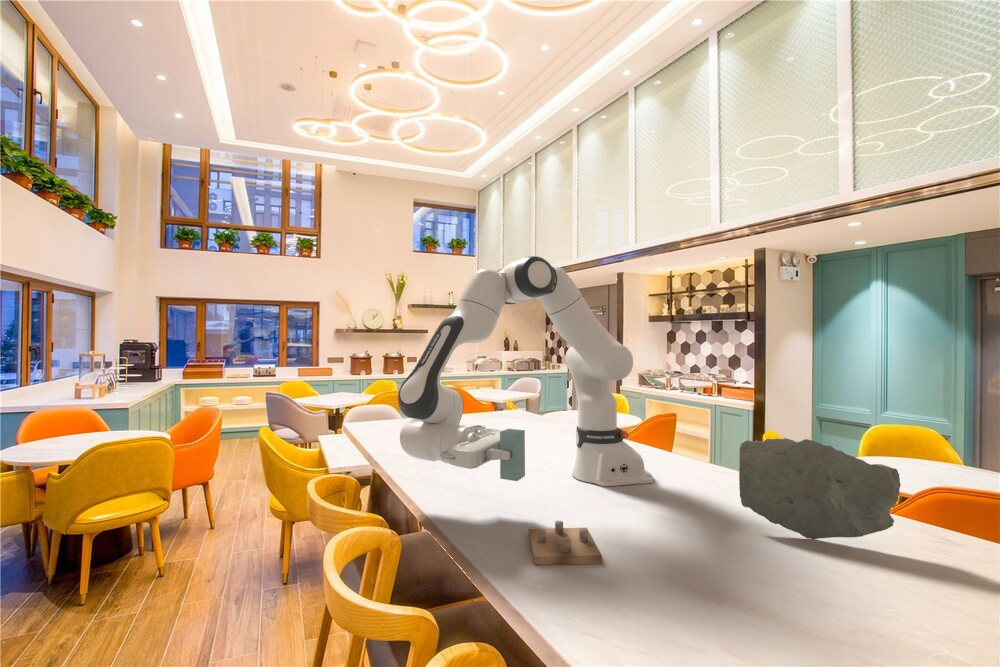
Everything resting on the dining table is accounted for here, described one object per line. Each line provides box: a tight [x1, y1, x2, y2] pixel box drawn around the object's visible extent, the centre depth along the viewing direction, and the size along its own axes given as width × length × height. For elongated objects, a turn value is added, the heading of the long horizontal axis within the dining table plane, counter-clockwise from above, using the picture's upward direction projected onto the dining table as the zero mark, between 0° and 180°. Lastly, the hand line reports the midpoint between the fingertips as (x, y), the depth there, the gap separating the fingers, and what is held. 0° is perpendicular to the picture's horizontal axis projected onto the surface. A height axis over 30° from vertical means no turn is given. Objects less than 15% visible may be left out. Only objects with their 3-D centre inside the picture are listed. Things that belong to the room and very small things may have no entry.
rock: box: [738, 437, 902, 540], centre depth 93 cm, size 27×6×20 cm, turn 61°
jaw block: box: [499, 428, 526, 482], centre depth 101 cm, size 4×4×10 cm
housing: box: [527, 520, 603, 566], centre depth 89 cm, size 12×12×4 cm
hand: (516, 452), depth 101 cm, fingers closed on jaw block, 4 cm apart
